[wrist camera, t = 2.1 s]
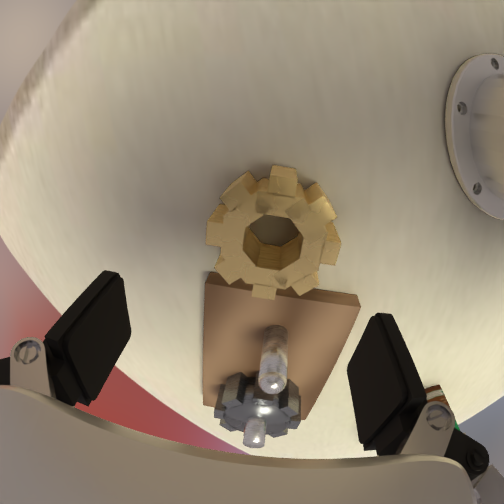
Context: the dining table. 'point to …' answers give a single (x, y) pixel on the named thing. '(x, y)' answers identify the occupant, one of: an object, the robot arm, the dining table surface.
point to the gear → (257, 409)
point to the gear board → (262, 316)
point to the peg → (274, 360)
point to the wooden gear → (270, 256)
